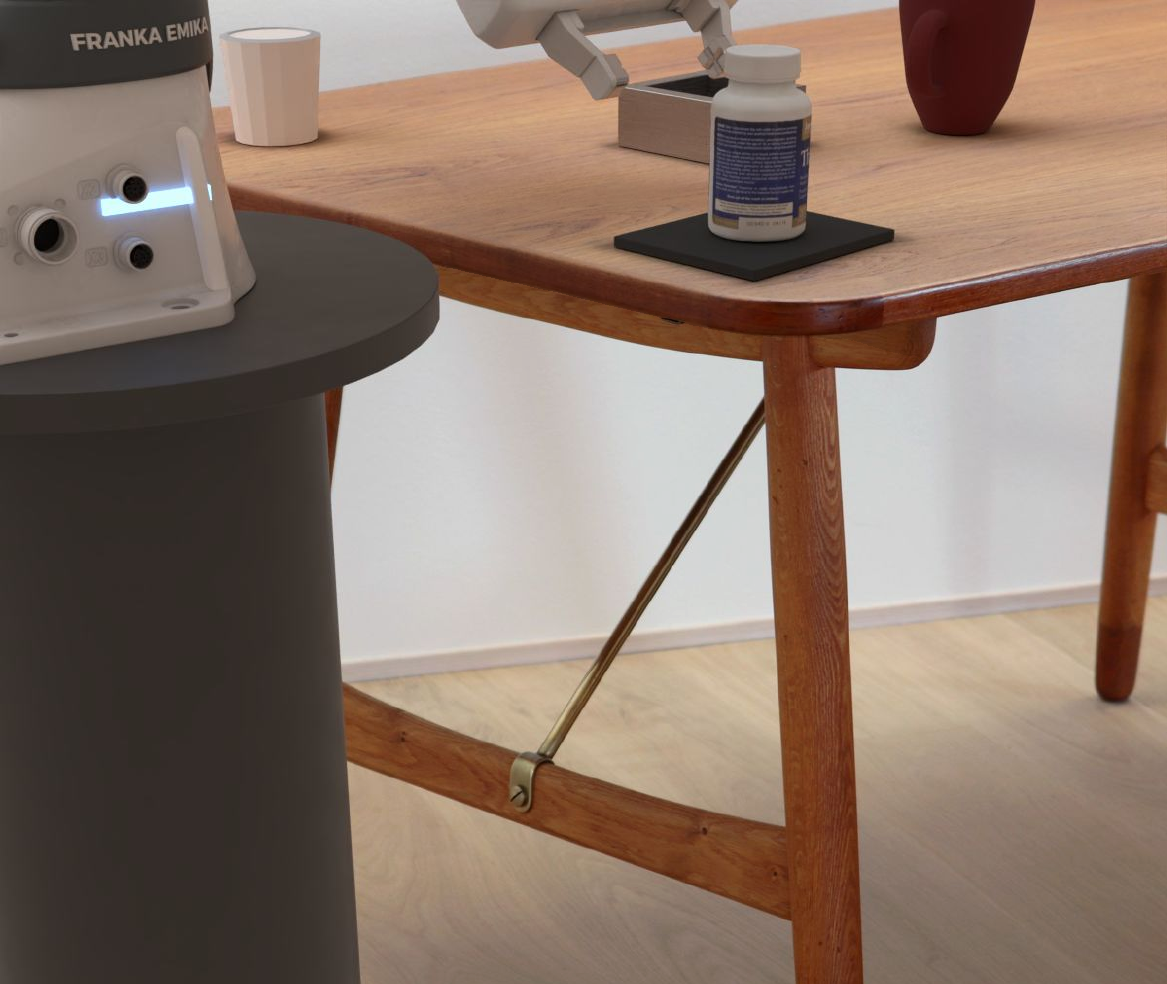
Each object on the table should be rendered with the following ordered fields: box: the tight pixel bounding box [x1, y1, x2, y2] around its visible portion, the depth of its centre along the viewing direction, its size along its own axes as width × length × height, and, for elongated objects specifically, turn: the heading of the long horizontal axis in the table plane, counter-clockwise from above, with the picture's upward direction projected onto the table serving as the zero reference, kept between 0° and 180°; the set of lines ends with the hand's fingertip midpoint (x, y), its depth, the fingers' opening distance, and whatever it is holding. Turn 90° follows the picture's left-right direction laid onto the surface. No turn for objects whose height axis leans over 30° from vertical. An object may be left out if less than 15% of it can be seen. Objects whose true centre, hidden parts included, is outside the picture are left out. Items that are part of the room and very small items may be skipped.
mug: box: [898, 0, 1036, 136], centre depth 128 cm, size 12×9×11 cm
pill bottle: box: [707, 43, 813, 242], centre depth 100 cm, size 5×5×10 cm
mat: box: [613, 210, 896, 282], centre depth 103 cm, size 12×10×1 cm
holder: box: [617, 69, 807, 165], centre depth 126 cm, size 9×9×4 cm
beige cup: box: [218, 26, 321, 147], centre depth 128 cm, size 7×7×7 cm
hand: (673, 81), depth 103 cm, fingers open, 8 cm apart
